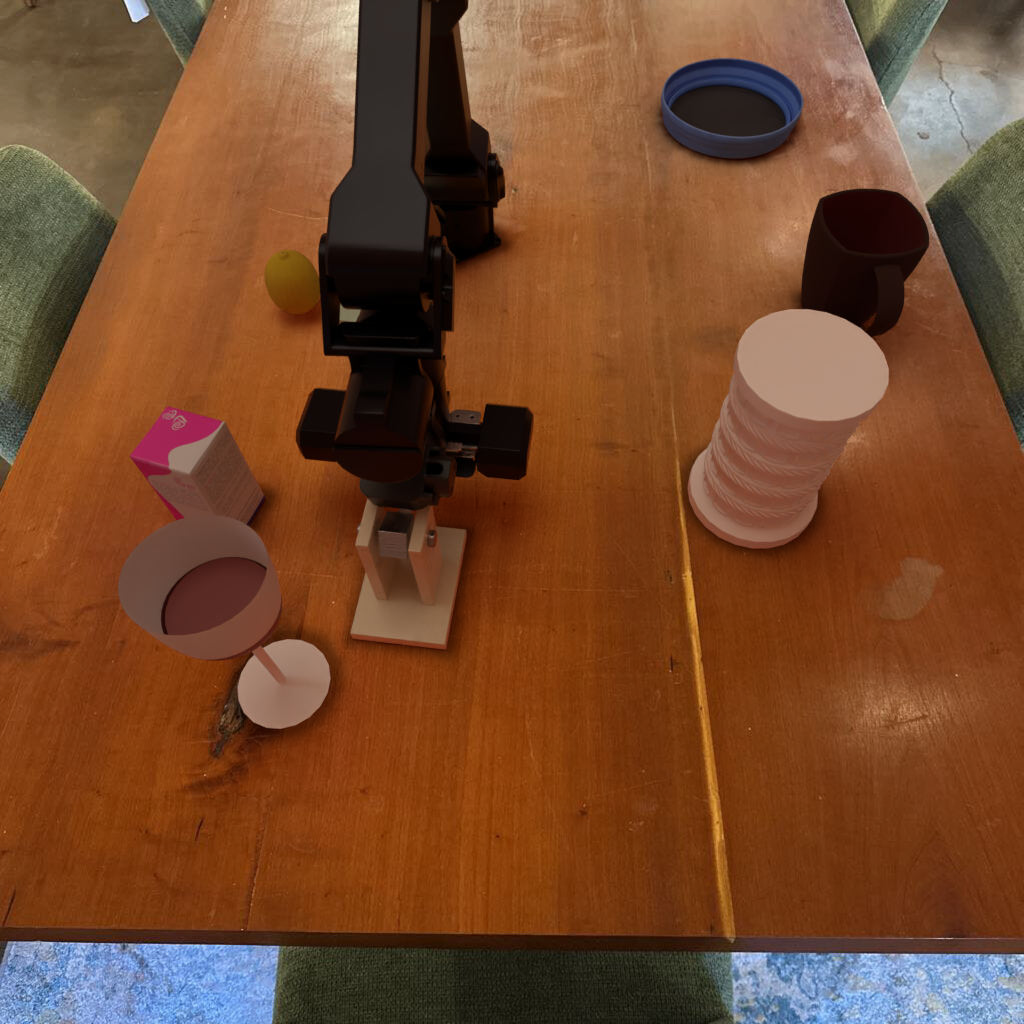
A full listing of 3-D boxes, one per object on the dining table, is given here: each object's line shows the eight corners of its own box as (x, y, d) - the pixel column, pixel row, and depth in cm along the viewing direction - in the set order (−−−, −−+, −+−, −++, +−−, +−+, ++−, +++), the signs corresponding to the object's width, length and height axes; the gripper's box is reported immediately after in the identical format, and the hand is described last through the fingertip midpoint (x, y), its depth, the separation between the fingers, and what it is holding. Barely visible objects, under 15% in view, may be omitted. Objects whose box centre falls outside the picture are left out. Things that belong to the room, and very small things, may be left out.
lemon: (318, 332, 82) (299, 274, 76) (269, 325, 83) (246, 267, 76) (334, 297, 85) (317, 238, 78) (287, 290, 86) (266, 231, 79)
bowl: (815, 108, 103) (824, 81, 100) (762, 180, 95) (770, 154, 92) (693, 69, 108) (698, 43, 105) (634, 135, 100) (637, 108, 97)
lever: (411, 475, 70) (410, 444, 68) (446, 478, 69) (446, 447, 68) (373, 559, 59) (370, 525, 57) (414, 564, 59) (412, 530, 57)
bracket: (380, 526, 70) (358, 458, 61) (466, 535, 69) (458, 468, 60) (352, 638, 64) (323, 582, 55) (446, 650, 64) (432, 595, 54)
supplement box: (268, 496, 72) (227, 420, 62) (236, 548, 69) (188, 478, 59) (214, 479, 73) (165, 402, 63) (180, 530, 70) (124, 458, 60)
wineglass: (235, 641, 64) (130, 520, 47) (339, 632, 64) (272, 509, 47) (225, 736, 60) (106, 641, 43) (335, 726, 60) (261, 628, 43)
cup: (859, 278, 86) (905, 184, 75) (904, 372, 78) (961, 282, 68) (772, 285, 85) (806, 191, 75) (809, 380, 78) (852, 290, 68)
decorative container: (661, 485, 72) (698, 352, 56) (747, 424, 75) (805, 283, 60) (752, 572, 67) (820, 453, 51) (840, 503, 70) (928, 372, 55)
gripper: (249, 444, 53) (303, 555, 66) (517, 471, 51) (518, 579, 64) (294, 330, 59) (336, 452, 72) (535, 351, 57) (533, 472, 70)
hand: (427, 489), depth 69 cm, fingers closed on lever, 3 cm apart
